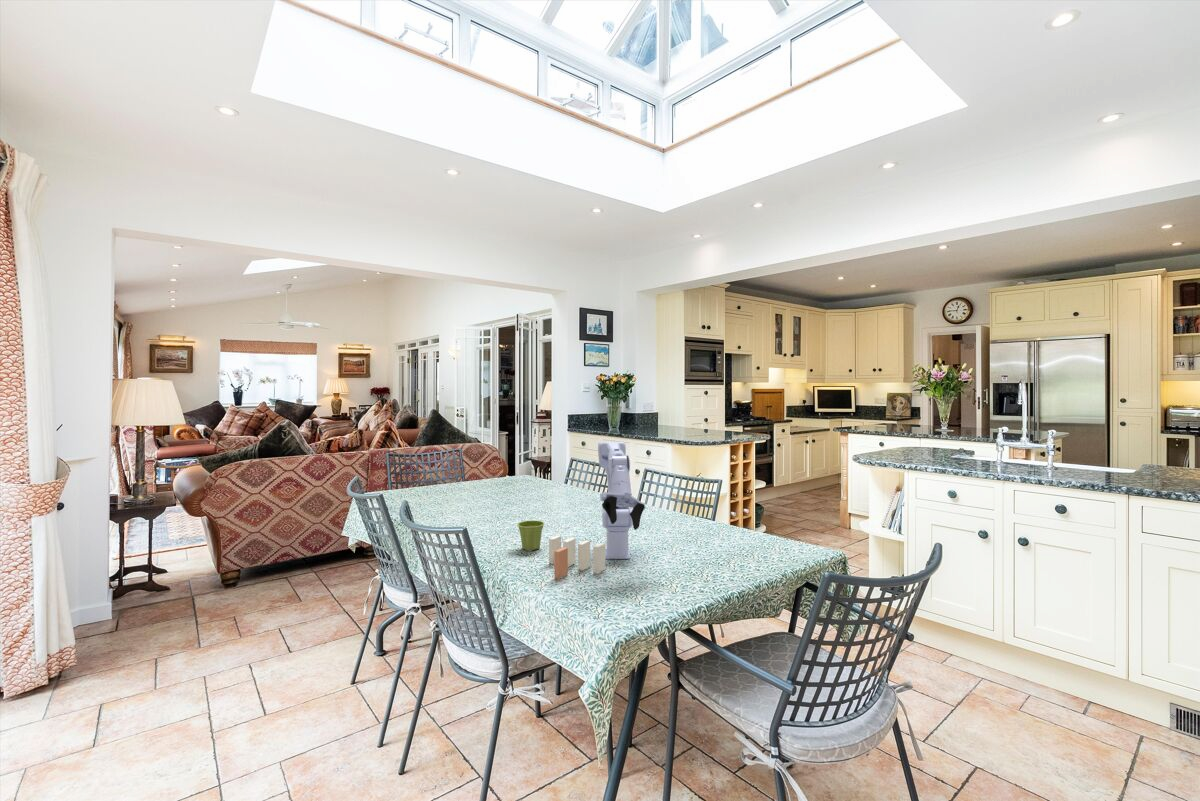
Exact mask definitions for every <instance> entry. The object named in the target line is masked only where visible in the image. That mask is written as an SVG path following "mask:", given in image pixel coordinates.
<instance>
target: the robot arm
mask: <svg viewBox="0 0 1200 801" xmlns="http://www.w3.org/2000/svg"><path fill="white" fill-rule="evenodd" d="M597 446H598V447H597V454H598V464H599V466H600V467H601V468H602V469H604V471H605V474H606V481H607V483H606V484H607V490H608V492H607V491H602V492H601V494H600V501H602V504H601V507H602V510H601V512H602V515H601V518H602V520H601V521H602V526H603V528H604V529H606V548H605V560H607V559H608V560H614V559H615V560H617V559H618V560H619V559H622V560H623V559H624V560H625V559H626V560H630V559H631V556H630V549H629V531H630V529H631V528H632V527H633V530H635V531H637V530H638V529H639V528H640V524H641V518H642V515H643V512H644V510H645V509H646V503H645V502H643V501H640V500H639V499H637V498H636V497H634V496H633V492H632V488H631V487H632V486H631V479H630V469H631V462H630V457H629V455H626V454H627V453H626V452H627V451H626V443H625V441H599V442H598V445H597Z"/></svg>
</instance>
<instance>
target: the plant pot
mask: <svg viewBox="0 0 1200 801" xmlns="http://www.w3.org/2000/svg"><path fill="white" fill-rule="evenodd" d="M517 526H518V530H519V533H520V535H519V536H520V542H521V548H523V549H522V550H525V551H531V550H532V551H535V550H539V549H540V548H541V542H542V532H543V529H544V526H545V522H543V521H542V520H533V519H532V520H524V521H519V522H518V523H517Z"/></svg>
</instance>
